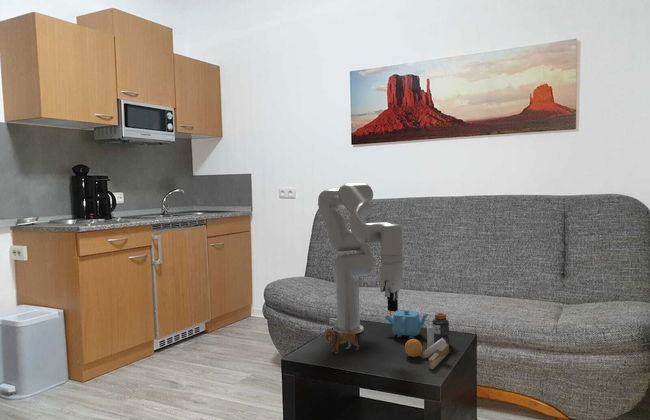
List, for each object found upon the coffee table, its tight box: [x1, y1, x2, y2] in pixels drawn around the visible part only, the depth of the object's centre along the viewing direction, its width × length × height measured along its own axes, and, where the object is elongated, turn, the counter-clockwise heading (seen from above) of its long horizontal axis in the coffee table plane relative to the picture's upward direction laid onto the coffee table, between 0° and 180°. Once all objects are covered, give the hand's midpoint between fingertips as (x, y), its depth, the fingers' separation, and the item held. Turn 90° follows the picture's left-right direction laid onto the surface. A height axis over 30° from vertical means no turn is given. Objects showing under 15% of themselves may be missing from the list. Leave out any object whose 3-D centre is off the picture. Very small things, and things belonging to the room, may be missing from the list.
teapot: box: [384, 309, 430, 339], centre depth 188 cm, size 18×14×10 cm
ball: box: [404, 338, 423, 358], centre depth 164 cm, size 6×6×6 cm
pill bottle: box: [432, 312, 450, 345], centre depth 177 cm, size 6×6×11 cm
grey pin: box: [426, 325, 434, 349], centre depth 169 cm, size 2×2×8 cm
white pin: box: [422, 338, 446, 359], centre depth 161 cm, size 2×2×8 cm
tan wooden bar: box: [427, 343, 450, 370], centre depth 160 cm, size 2×18×3 cm, turn 149°
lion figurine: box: [323, 328, 361, 355], centre depth 171 cm, size 15×5×9 cm, turn 119°
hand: (392, 310), depth 168 cm, fingers closed
